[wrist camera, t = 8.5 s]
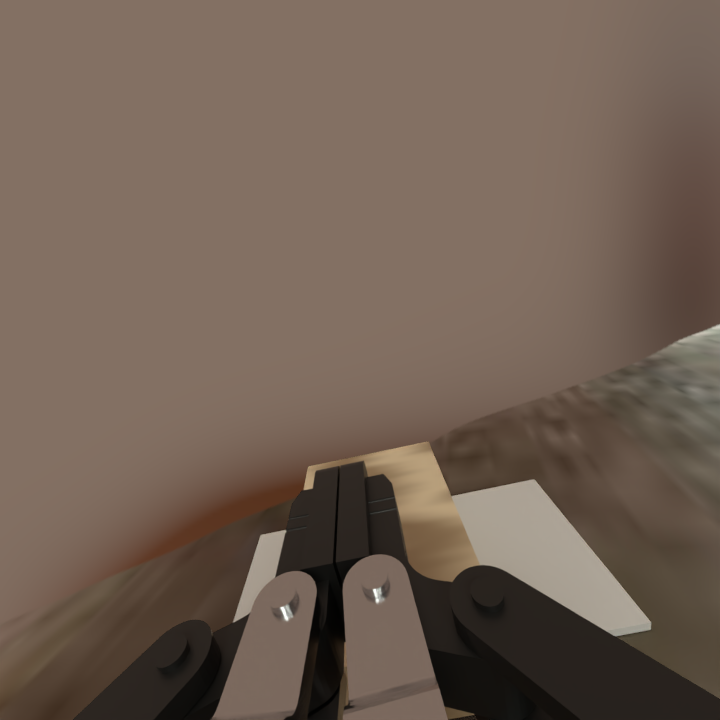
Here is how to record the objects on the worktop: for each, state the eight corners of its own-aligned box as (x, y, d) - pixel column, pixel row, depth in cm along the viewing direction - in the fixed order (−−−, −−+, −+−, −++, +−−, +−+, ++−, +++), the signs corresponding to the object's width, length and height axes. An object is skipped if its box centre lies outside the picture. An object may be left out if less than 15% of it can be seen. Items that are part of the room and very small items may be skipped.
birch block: (518, 706, 12) (436, 486, 24) (509, 635, 11) (428, 441, 23) (295, 747, 12) (321, 509, 24) (266, 681, 11) (308, 466, 23)
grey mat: (534, 484, 22) (534, 479, 22) (650, 629, 14) (651, 622, 14) (262, 539, 23) (260, 535, 23) (210, 711, 14) (206, 704, 14)
